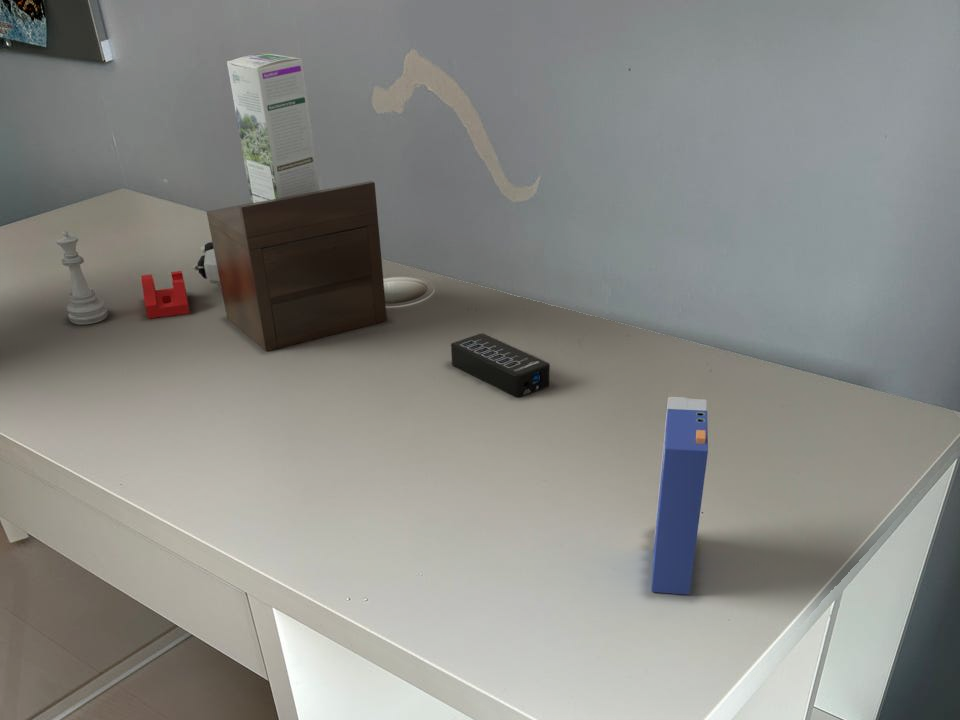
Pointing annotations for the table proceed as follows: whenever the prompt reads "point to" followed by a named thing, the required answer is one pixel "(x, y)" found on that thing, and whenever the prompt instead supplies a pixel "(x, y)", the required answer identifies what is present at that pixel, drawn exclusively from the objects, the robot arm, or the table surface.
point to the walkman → (680, 494)
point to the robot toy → (208, 264)
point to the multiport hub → (500, 365)
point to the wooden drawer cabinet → (301, 264)
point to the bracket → (165, 297)
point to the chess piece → (80, 287)
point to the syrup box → (274, 125)
